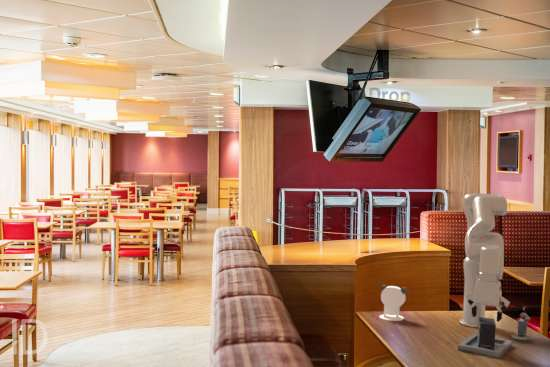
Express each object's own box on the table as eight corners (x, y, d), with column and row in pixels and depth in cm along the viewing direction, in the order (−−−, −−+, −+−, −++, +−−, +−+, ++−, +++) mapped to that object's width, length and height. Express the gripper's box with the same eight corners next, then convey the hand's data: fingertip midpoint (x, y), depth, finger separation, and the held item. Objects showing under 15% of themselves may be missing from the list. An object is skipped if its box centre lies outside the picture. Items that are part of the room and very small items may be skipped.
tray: (473, 338, 280) (473, 333, 280) (511, 346, 271) (512, 340, 271) (457, 350, 263) (458, 344, 263) (498, 358, 254) (499, 352, 254)
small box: (495, 350, 261) (496, 324, 261) (478, 349, 263) (479, 323, 262) (493, 343, 271) (494, 318, 271) (476, 341, 273) (478, 316, 272)
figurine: (534, 339, 281) (535, 311, 281) (529, 344, 274) (530, 315, 274) (514, 335, 286) (515, 308, 286) (508, 340, 279) (509, 312, 279)
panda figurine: (407, 316, 314) (408, 285, 313) (402, 322, 303) (404, 290, 302) (382, 313, 318) (383, 282, 317) (377, 319, 307) (378, 287, 306)
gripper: (513, 278, 264) (510, 320, 266) (470, 272, 273) (468, 312, 275) (508, 282, 258) (505, 325, 259) (464, 275, 267) (462, 316, 269)
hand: (486, 318), depth 267 cm, fingers open, 9 cm apart
